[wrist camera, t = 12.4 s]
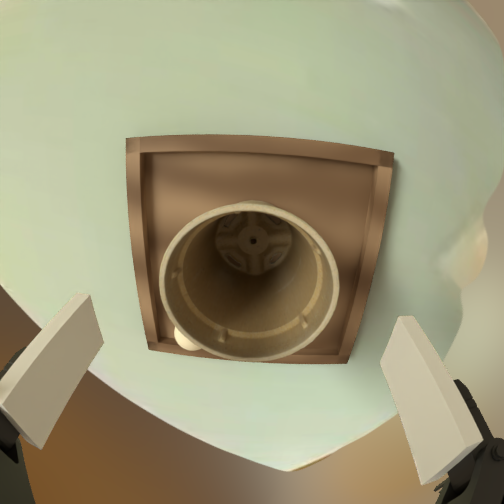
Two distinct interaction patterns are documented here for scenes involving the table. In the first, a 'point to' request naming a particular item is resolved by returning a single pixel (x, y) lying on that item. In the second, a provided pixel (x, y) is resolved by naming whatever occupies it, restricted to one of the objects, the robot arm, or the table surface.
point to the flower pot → (249, 282)
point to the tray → (277, 194)
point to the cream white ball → (184, 341)
